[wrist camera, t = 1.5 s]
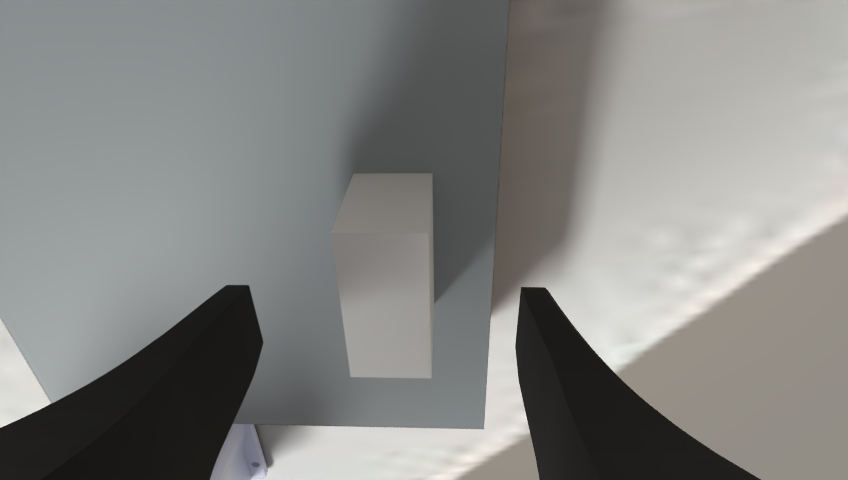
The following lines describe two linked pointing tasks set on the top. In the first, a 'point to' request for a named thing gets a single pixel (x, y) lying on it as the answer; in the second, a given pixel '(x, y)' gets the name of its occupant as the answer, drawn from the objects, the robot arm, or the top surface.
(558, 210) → the top surface
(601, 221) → the top surface
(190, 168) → the lid
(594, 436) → the robot arm
